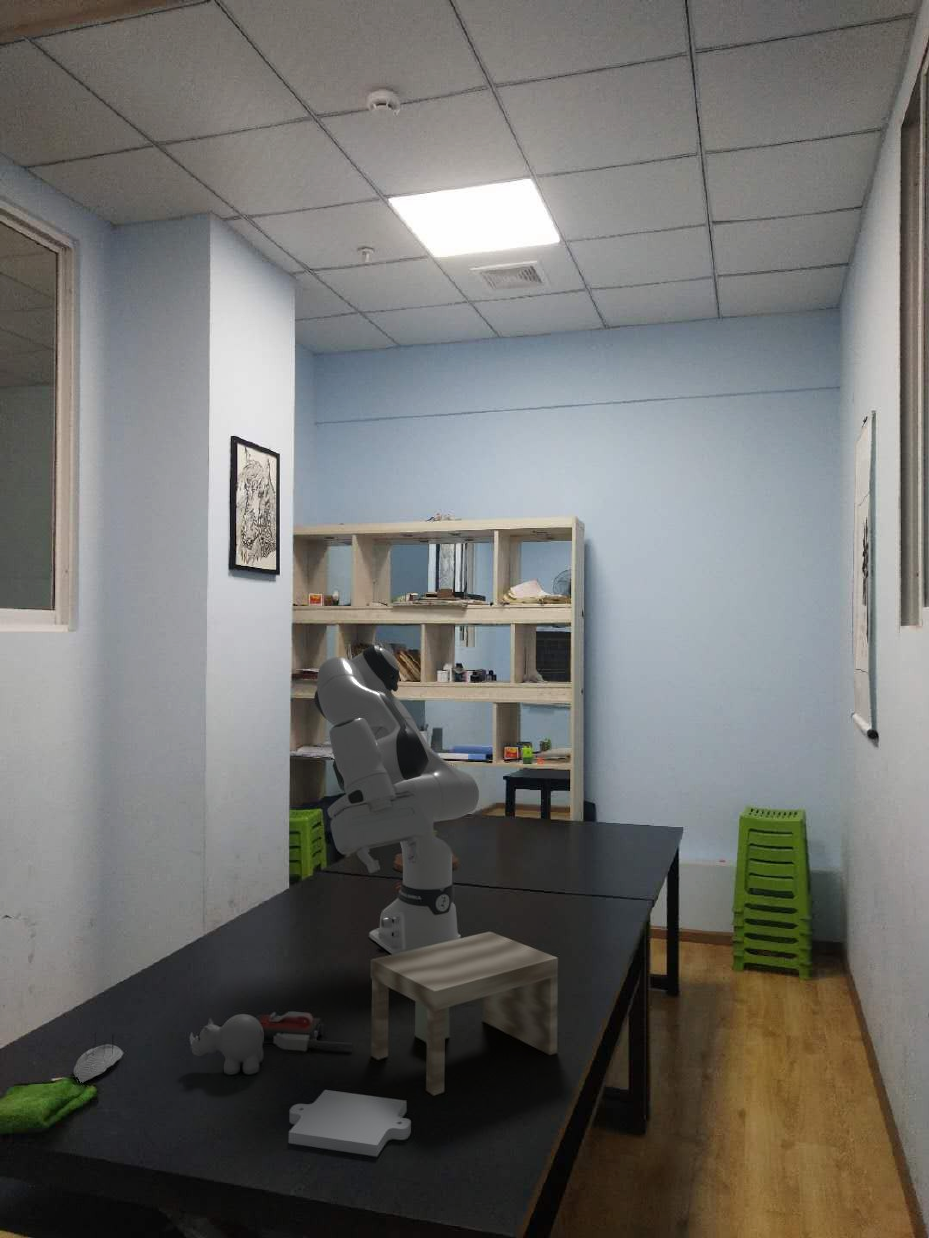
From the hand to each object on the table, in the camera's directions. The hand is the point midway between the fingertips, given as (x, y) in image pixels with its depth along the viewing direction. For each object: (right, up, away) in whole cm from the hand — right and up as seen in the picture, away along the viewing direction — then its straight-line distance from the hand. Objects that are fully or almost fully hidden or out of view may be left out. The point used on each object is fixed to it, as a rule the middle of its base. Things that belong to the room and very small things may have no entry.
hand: (395, 866), depth 181 cm
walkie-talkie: (-16, -28, -11) cm, 34 cm away
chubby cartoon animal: (-26, -27, -22) cm, 44 cm away
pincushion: (-46, -27, -23) cm, 58 cm away
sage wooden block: (+7, -28, -9) cm, 30 cm away
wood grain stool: (+13, -28, -16) cm, 34 cm away
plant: (+1, -30, +117) cm, 120 cm away
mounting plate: (-4, -28, -40) cm, 49 cm away
